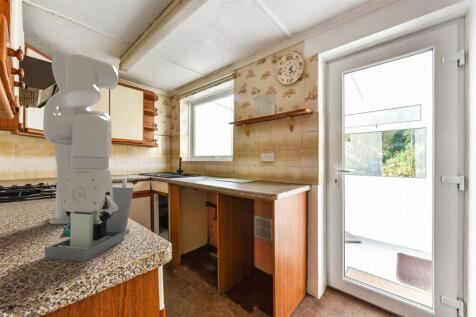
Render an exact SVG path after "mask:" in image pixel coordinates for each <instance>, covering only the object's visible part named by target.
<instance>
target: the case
mask: <svg viewBox="0 0 476 317" xmlns="http://www.w3.org/2000/svg"><path fill="white" fill-rule="evenodd" d="M123 241H125V235H124V232H120V231H107V230H106V240H104V241H102V242H100V243H97V244H95V245H93V246H91V247H89V248H82V247H71V246H70V237H69V238H67V239H64V240H61V241H58V242H56V243H53V244H51V245H48V246H46V247H44V258H45V259H54V260H62V261H72V262H80V263H84V262H86V261H88V260H90V259H92V258H94V257H96V256H97V255H99V254H101V253H103V252H105V251H106V250H108V249H111V248H112V247H114V246H116V245H118V244H120V243H122V242H123Z"/></svg>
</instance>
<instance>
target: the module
mask: <svg viewBox="0 0 476 317" xmlns="http://www.w3.org/2000/svg"><path fill="white" fill-rule="evenodd" d="M100 215H101V216H102V212H100ZM94 224H96V220H95V217H94V213H84V212H75V213H71V231H70V236H69V238H70V246H71V247H82V248H89V247H91V246H93V245H95V244H97V243H100V242H102V241H104V240H106V237H104V238H101V239H99V240H97V241H94V240H93V231H94Z"/></svg>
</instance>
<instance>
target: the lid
mask: <svg viewBox="0 0 476 317" xmlns="http://www.w3.org/2000/svg"><path fill="white" fill-rule="evenodd" d="M112 187H113V201H114V202H115V204H116V205H117V206H118V210H117V211H116V212H115V213H114V214H113V215H112V216H111V217H110V218H109V220H108V221H107V231H120V232H126V229H128V228H127V227H128V221H129V216H130V210H131V204H132V199H133V193H134V187H127V188H122V187H119V186H118V187H116V186H115V187H114V186H112ZM107 211H108V209H107Z"/></svg>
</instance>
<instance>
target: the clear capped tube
mask: <svg viewBox="0 0 476 317" xmlns="http://www.w3.org/2000/svg"><path fill="white" fill-rule="evenodd" d="M127 184H128V180H127V178H122V179H121V188H128V186H127ZM130 230H131V229H128V228H126V232H124V236H125V235H126V234H129V233H130Z"/></svg>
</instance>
